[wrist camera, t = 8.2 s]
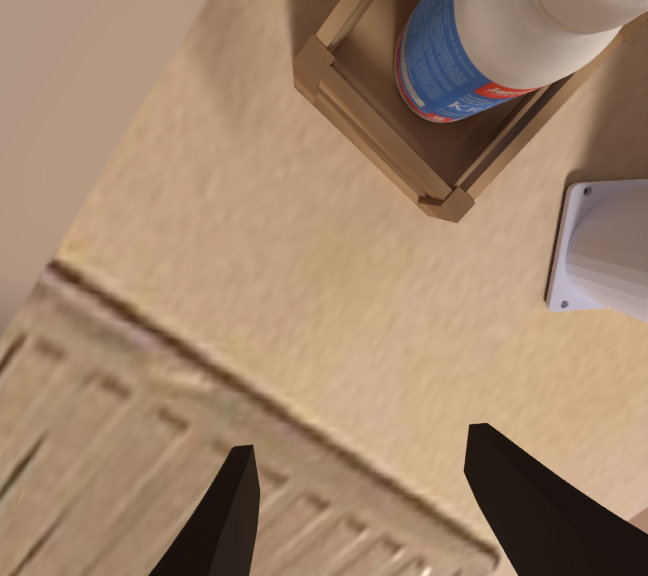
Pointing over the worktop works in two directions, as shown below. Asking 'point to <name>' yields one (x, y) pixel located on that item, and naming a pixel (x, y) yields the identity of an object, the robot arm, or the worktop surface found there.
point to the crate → (406, 126)
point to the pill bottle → (498, 49)
